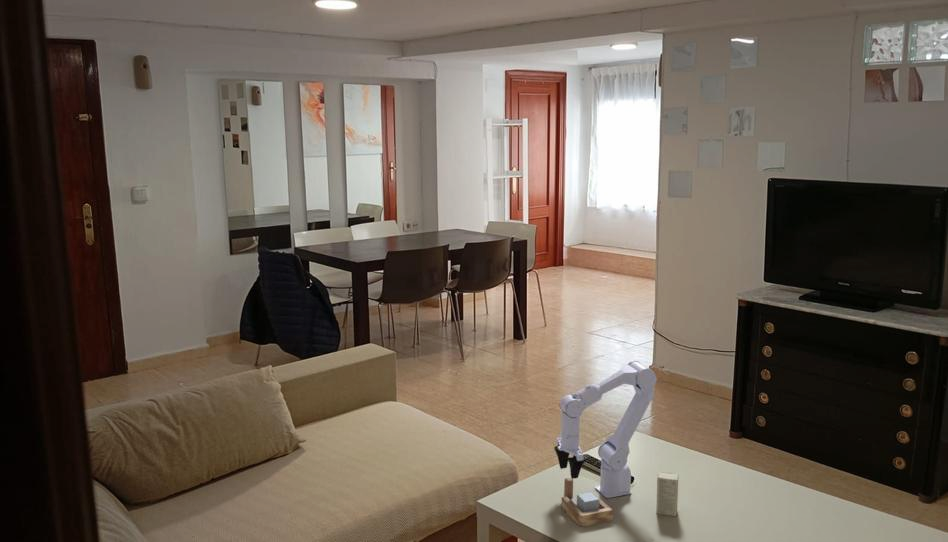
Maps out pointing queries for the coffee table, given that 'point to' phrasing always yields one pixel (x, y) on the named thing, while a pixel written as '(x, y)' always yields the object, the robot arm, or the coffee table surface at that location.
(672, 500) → the skincare box
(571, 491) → the block with pull
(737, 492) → the coffee table surface
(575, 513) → the two-pronged wooden block
